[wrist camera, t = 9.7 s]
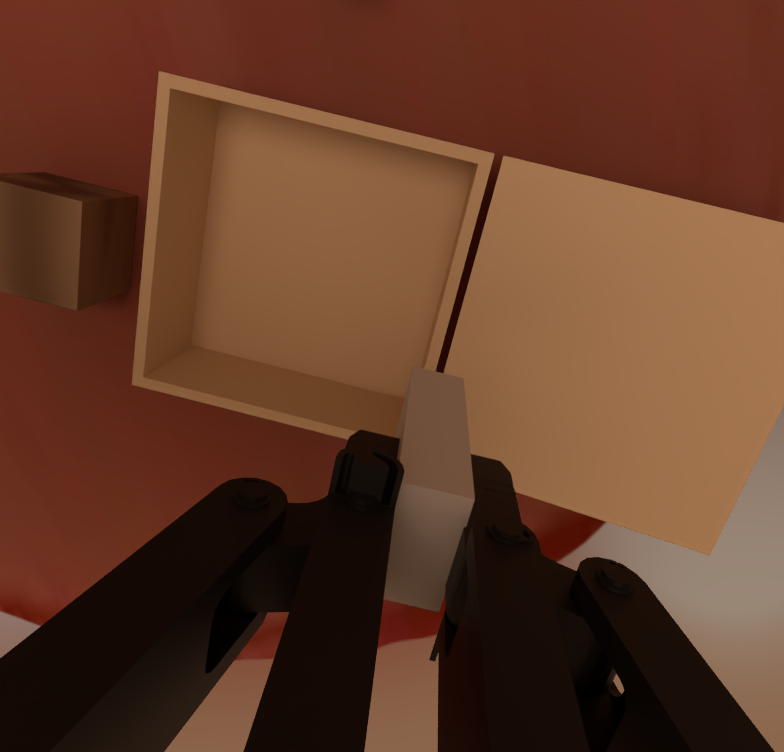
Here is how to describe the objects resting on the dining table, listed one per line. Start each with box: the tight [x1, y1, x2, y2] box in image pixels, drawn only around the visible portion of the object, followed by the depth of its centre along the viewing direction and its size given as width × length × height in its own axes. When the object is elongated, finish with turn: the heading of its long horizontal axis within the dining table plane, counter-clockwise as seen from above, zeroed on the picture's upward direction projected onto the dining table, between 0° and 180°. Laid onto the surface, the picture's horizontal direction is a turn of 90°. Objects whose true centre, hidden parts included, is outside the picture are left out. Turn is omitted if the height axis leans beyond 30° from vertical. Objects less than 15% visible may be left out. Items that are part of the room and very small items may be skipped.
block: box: [0, 172, 138, 311], centre depth 36 cm, size 6×6×6 cm
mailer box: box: [132, 71, 495, 440], centre depth 34 cm, size 16×16×7 cm
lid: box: [444, 156, 784, 555], centre depth 30 cm, size 15×16×1 cm
